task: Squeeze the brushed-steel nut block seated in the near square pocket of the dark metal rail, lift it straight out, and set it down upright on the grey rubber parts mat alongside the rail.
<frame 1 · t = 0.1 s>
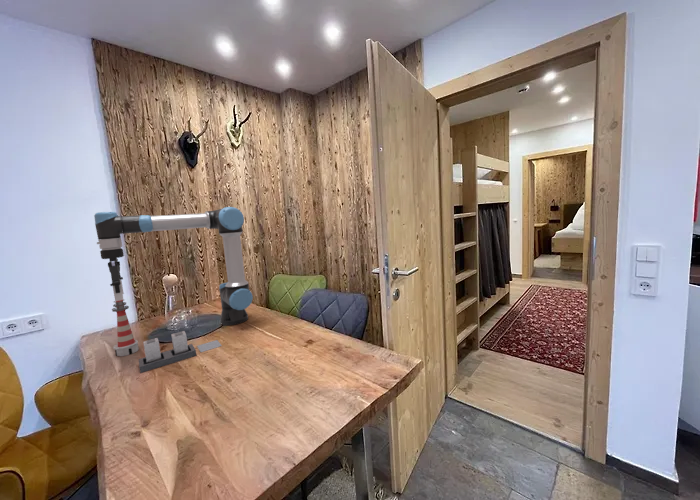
hand: (119, 297, 126), 28 cm above the table, fingers open, 13 cm apart
mat: (209, 347, 136), on the table
nut b: (154, 364, 121), resting on rail
miniature lighthouse: (127, 352, 136), on the table
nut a: (181, 356, 127), resting on rail
rail: (168, 361, 124), on the table
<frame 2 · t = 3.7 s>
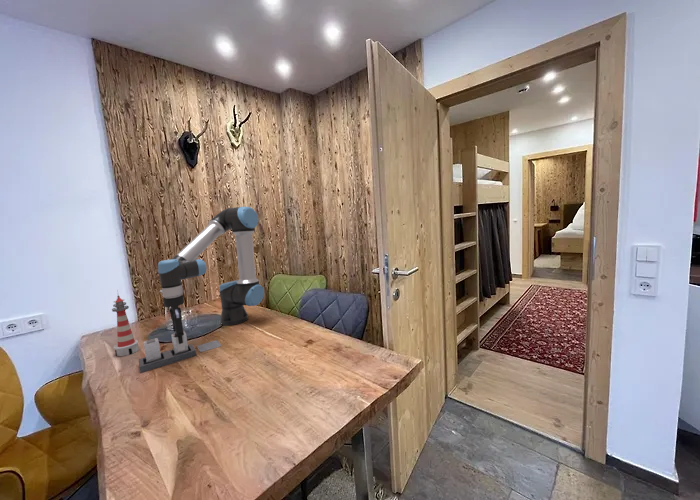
hand: (180, 347, 127), 4 cm above the table, fingers closed on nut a, 5 cm apart
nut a: (181, 356, 127), resting on rail, touching gripper
everything else where it was.
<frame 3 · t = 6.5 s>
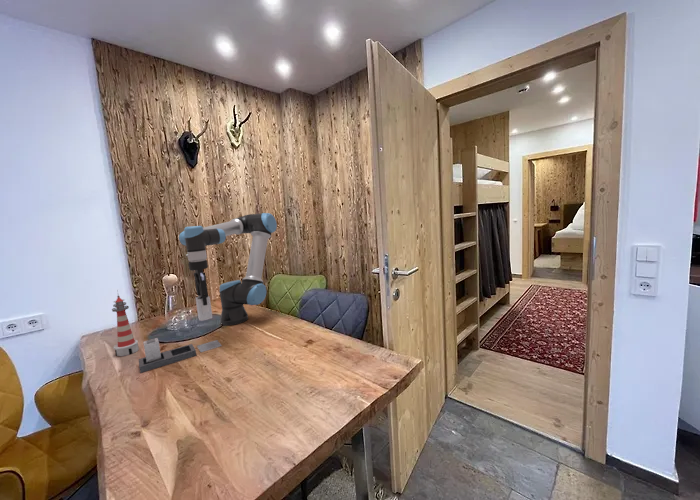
hand: (204, 310, 133), 18 cm above the table, fingers closed on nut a, 5 cm apart
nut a: (205, 318, 134), point 14 cm above the table, touching gripper
everything else where it was.
when the fingers open (6 cm above the table, at t = 9.2 s): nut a drops 1 cm, resting on mat.
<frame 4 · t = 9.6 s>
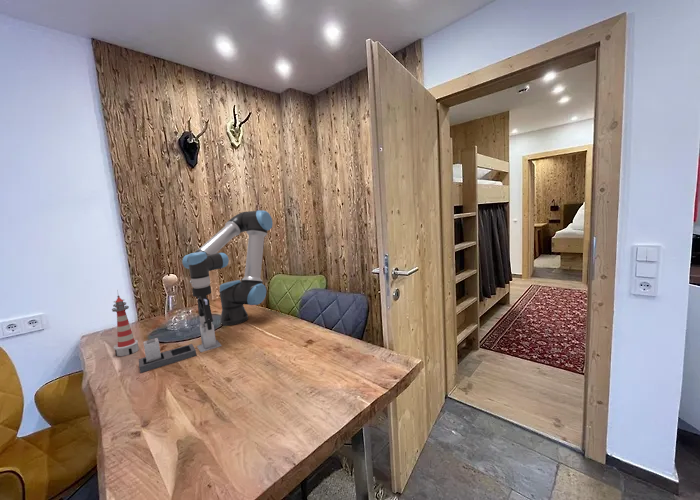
hand: (207, 332, 135), 7 cm above the table, fingers open, 11 cm apart
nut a: (209, 345, 136), point 1 cm above the table, touching mat
everything else where it was.
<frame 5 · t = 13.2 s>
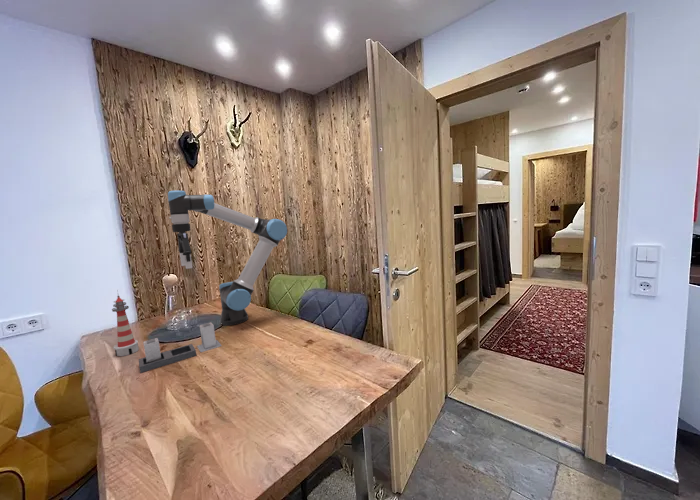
hand: (186, 267, 142), 37 cm above the table, fingers open, 13 cm apart
nothing on the table moved.
at the end: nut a inside the target area on the mat (0.0 cm from its centre), point 0.6 cm above the mat's base; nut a tilted 0°; nut b moved 0.0 cm from its start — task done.
